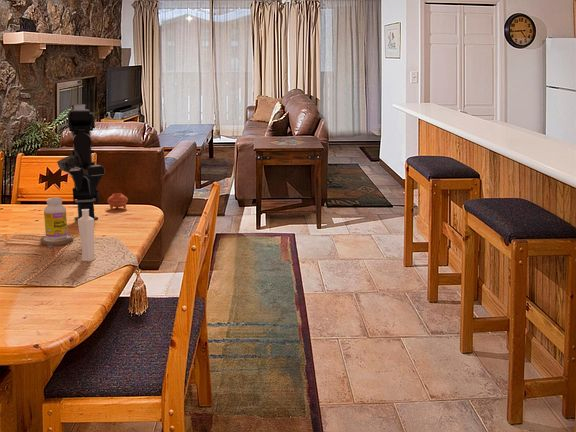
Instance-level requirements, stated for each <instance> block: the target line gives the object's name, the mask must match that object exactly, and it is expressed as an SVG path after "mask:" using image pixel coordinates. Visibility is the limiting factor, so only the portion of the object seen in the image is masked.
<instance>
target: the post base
mask: <svg viewBox="0 0 576 432" xmlns="http://www.w3.org/2000/svg"><path fill="white" fill-rule="evenodd" d="M71 242H72V243H73V242H74V236H73V235H71V234H67V237H66V238H64V239H59V240H50V239H47V238H46V235H45V236H42V237H41V238H40V239H39V243H40V245H41V246H45V247H47V248H49V249H50V248H53V247H59V246H66V245H69V243H70V244H72V243H71Z"/></svg>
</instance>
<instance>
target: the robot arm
mask: <svg viewBox="0 0 576 432" xmlns="http://www.w3.org/2000/svg"><path fill="white" fill-rule="evenodd" d="M67 125H68V127H67V128H68V129H69V130H68V131H69V132H70V134H71V136H72V145H73V146H72V147H73V149H72V150H71V151H70V155H68V156H66V157H63V158H61V159H60V160H57V161H56V163H57V166H58V167H59V170H60V171H63V172H66V173H67V174H68V175H70V177H71V179H72V181H73V185H74V187H72V200H73V203H72V204H73V205H76V206H77V216H76V217H75V216H74V219H75V220H77V221H78V219H79V218H81V217H82V211H81V210H82V209H89V216H90V217H91V218H93V219H94V221H95V220H98V219H99V216H98V217H97V216H96V215H95V204H98V203H100V193H99V192H100V191H99V190H98V189H97V187H98V186H99V183H100V181H101V179H102V177H104V175H105V174H106V168H105V166H103V165H101V164H96V163H95V161H93V158H92V157H93V155H92V154H94V153H95V150H94V149H92V137H91V132H93V131H94V129H95V128H96V123H95V116H94V113H92V112H91V111H90V109H87V104H84V103H73V104H72V105H71V109H70V110H69V111H68V112H67Z"/></svg>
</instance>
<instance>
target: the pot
mask: <svg viewBox="0 0 576 432" xmlns="http://www.w3.org/2000/svg"><path fill="white" fill-rule="evenodd" d="M128 201H129V199H128V197H127V196H125V195H124V194H123V193H121V192H118V193H117V192H116V193H112V195H111V196H109V197H108V198H107V204H109V207H110V210H113V208H121V207H123V210H126V207H127V203H128Z"/></svg>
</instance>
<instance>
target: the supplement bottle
mask: <svg viewBox="0 0 576 432" xmlns="http://www.w3.org/2000/svg"><path fill="white" fill-rule="evenodd" d="M46 204H47V206H45V207H44V209H43V213H44V215H43V216H44V217H43V218H44V228H45V232H44V233H45V236H46V238H47V239H50V240H59V239H64V238H66V237H67V235H68V223H67V221H68V220H67V208H66V206H64V205H63V198H62V197H58V196H57V197H49V198H46Z"/></svg>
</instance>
